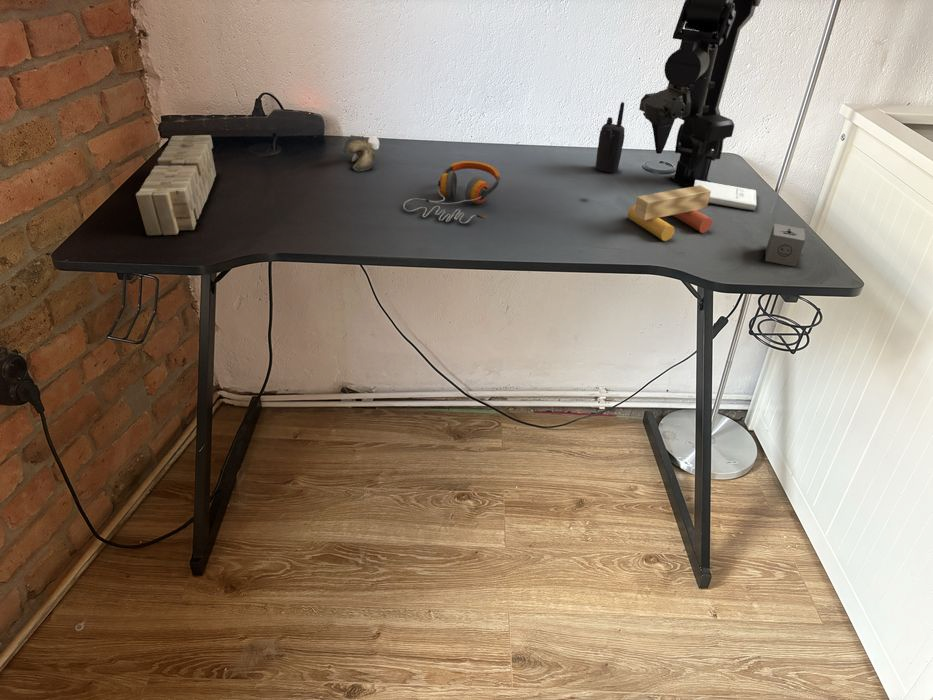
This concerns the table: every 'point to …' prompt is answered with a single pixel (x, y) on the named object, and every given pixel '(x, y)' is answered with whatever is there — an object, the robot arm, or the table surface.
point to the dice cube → (785, 245)
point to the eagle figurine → (361, 151)
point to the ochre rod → (653, 225)
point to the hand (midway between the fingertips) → (674, 161)
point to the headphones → (474, 189)
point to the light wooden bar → (672, 202)
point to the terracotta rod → (695, 220)
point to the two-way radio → (610, 144)
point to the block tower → (177, 186)
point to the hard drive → (730, 195)
